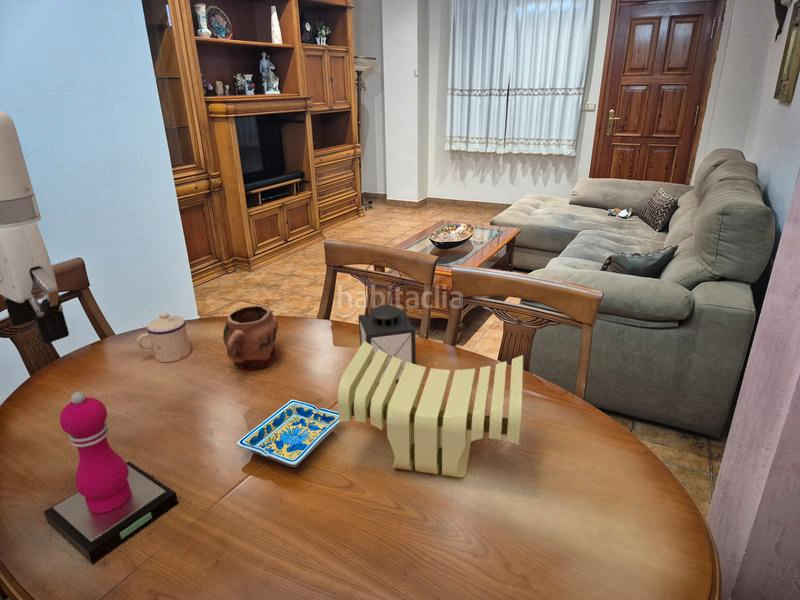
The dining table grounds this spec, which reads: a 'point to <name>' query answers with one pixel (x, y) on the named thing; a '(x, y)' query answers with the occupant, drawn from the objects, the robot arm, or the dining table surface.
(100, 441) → the pepper mill
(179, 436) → the dining table surface
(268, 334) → the decorative planter
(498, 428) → the slatted curved stool
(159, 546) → the dining table surface
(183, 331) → the teacup with lid
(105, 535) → the kitchen scale
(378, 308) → the lantern
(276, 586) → the dining table surface
